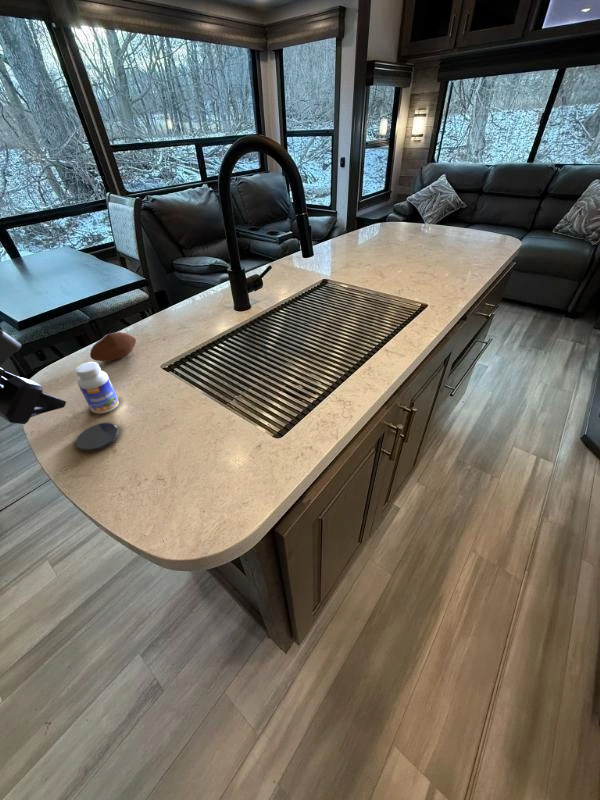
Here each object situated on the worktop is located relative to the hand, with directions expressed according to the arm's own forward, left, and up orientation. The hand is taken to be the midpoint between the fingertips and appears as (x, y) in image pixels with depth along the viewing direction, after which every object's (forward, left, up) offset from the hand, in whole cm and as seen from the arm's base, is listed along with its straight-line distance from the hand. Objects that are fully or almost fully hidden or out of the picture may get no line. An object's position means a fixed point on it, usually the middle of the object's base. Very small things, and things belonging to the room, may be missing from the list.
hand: (49, 395), depth 59 cm
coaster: (0, -7, -8) cm, 11 cm away
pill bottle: (+8, -1, -9) cm, 12 cm away
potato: (+25, +12, -9) cm, 29 cm away
